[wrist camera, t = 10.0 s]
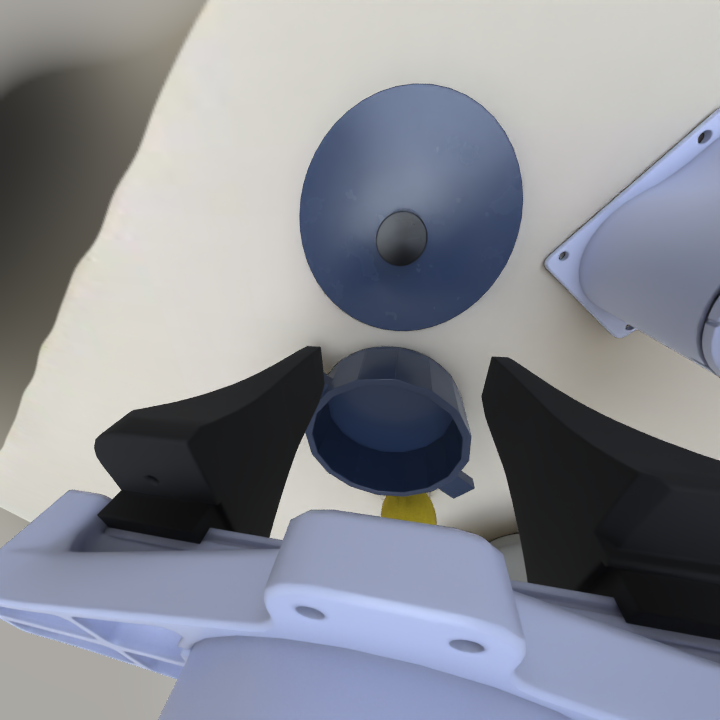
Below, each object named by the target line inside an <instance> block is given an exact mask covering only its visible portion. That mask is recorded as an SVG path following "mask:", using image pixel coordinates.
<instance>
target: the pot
mask: <svg viewBox="0 0 720 720" xmlns="http://www.w3.org/2000/svg"><path fill="white" fill-rule="evenodd" d="M323 373H324V372H323ZM324 382H325V385H324V389H323V392H322V396H321V399H320V402H319V404H318V406H317V408H316V411H315V413H314V415H313V417H312V419H311V421H310V423H309V425H308V427H307V429H306V431H305V433H306V436H307V439H308V443H309V446H310V449H311V452H312V455H313V456H314V457H315V458H316V459H317V460H318V462H319V463H320V464H321V465H322V466H323V467H324V468H325V470H326V471H327V472H328V473H330V474H331V475H333V476H335V477H336V478H338V479H339V480H341V481H343V482H344V483H346V484H347V485H349V486H351V487H354V488H357V489H360V490H363V491H367V492H370V493H373V494H377V495H388V496H402V497H404V496H411V495H416V494H422V493H427V492H431V491H434V490H436V489H437V488H439V489H440V490H441V491H443V492H444V493H446V494H447V495H449V496H450V497H452V498H456V497H458V496H460V495H462V494H464V493H466V492H468V491H470V490H472V489H474V483H473V479H472V478H471V477H470V476H468V475H467V474H465V473H464V472H463V471H461V470H462V469H463V468H464V466H465V465H466V464H467V462H468V461H469V455H470V445H471V433H470V429H469V425H468V421H467V417H466V413H465V409H464V405H463V401H462V397H461V395H460V393H459V391H458V389H457V386H456V384H455V382H454V381H453V379H452V377H451V375H450V374H448V372H447V371H446V370H445V369H444V368H443V367H442V366H440V365H439V364H438V363H437V362H435V361H434V360H432V359H431V358H429V357H427V356H425V355H423V354H421V353H418V352H415V351H413V350H409V349H405V348H399V347H373V348H368V349H364V350H361V351H358V352H355V353H353V354H351V355H349V356H347V357H346V358H344V359H343V360H341V361H340V362H339V363H338V364H337V365H336V366H335V367H334V368H333V369H332V371H331V372H330V373H329V374H328V375H327V374H325V373H324Z"/></svg>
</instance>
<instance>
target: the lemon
mask: <svg viewBox="0 0 720 720" xmlns="http://www.w3.org/2000/svg"><path fill="white" fill-rule="evenodd" d="M381 517H385V518H392V519H398V520H405V521H412V522H418V523H425V524H432V525H437V522H436V513H435V509H434V507H433V504H432V502H431V500H430V498H429V496H428V495H427V494H426V493H422V494H416V495H411V496H404V497H402V496H388V495H387V496H386V498H385V500H384V502H383V506H382V511H381Z"/></svg>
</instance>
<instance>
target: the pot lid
mask: <svg viewBox="0 0 720 720" xmlns="http://www.w3.org/2000/svg"><path fill="white" fill-rule="evenodd" d="M522 206H523V190H522V179H521V173H520V168H519V164H518V161H517V158H516V155H515V152H514V149H513V146H512V144H511V143H510V141H509V139H508V137H507V135H506V133H505V131H504V130H503V128H502V127H501V126H500V124H499V123H498V122H497V120H496V119H495V118H494V117H493V116H492V115H491V114H490V113H489V112H488V111H487V110H486V109H485V108H484V107H483V106H482V105H481V104H479V103H478V102H476V101H475V100H473V99H472V98H470V97H468V96H467V95H465V94H463V93H460V92H458V91H456V90H453V89H451V88H448V87H443V86H438V85H434V84H408V85H401V86H395V87H392V88H389V89H386V90H383V91H380V92H378V93H376V94H374V95H372V96H370V97H368V98H366V99H364V100H362V101H361V102H360V103H358V104H357V105H356V106H354V107H353V108H351V109H350V110H349V111H347V112H346V113H345V114H344V115H343V116H342V117H341V118H340V119H339V120H338V121H337V122H336V123H335V124H334V126H333V127H332V128H331V129H330V131H329V132H328V133H327V134H326V136H325V137H324V139H323V140H322V142H321V144H320V145H319V147H318V149H317V150H316V152H315V154H314V156H313V159H312V161H311V163H310V165H309V168H308V171H307V174H306V177H305V181H304V184H303V189H302V195H301V201H300V233H301V239H302V245H303V249H304V252H305V256H306V259H307V262H308V264H309V267H310V269H311V271H312V273H313V275H314V277H315V279H316V281H317V283H318V284H319V285H320V287H321V288H322V290H323V291H324V293H325V294H326V295H327V296H328V297H329V298H330V299H331V300H332V302H333V303H335V304H336V305H337V306H338V307H339V308H340V309H341V310H343V311H344V312H345V313H347V314H348V315H350V316H351V317H353V318H355V319H357V320H359V321H361V322H363V323H365V324H368V325H370V326H373V327H377V328H381V329H386V330H394V331H411V330H420V329H424V328H429V327H432V326H435V325H438V324H441V323H444V322H446V321H448V320H450V319H452V318H454V317H456V316H457V315H459V314H460V313H462V312H464V311H465V310H467V309H468V308H469V307H470V306H472V305H473V304H474V303H475V302H477V301H478V300H479V299H480V298H481V297H482V296H483V295H484V294H485V293H486V292H487V291H488V290H489V288H490V287H491V286H492V285H493V283H494V282H495V281H496V279H497V278H498V277H499V275H500V273H501V272H502V270H503V268H504V267H505V265H506V263H507V261H508V259H509V257H510V255H511V253H512V251H513V248H514V245H515V242H516V239H517V236H518V232H519V227H520V222H521V218H522Z"/></svg>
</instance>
